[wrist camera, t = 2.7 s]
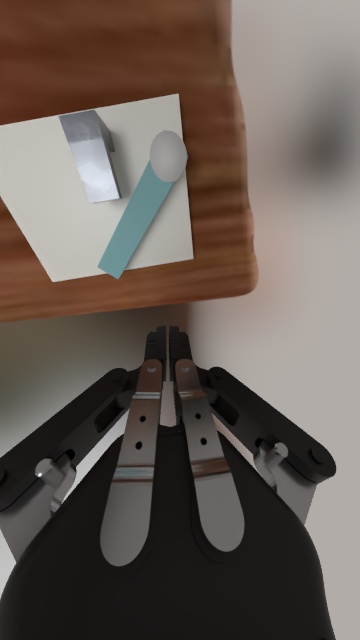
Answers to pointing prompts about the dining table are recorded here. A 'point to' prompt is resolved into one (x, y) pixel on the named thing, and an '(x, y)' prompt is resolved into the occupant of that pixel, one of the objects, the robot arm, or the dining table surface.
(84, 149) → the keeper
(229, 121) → the dining table surface
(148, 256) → the board
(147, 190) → the teal long piece
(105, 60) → the dining table surface
